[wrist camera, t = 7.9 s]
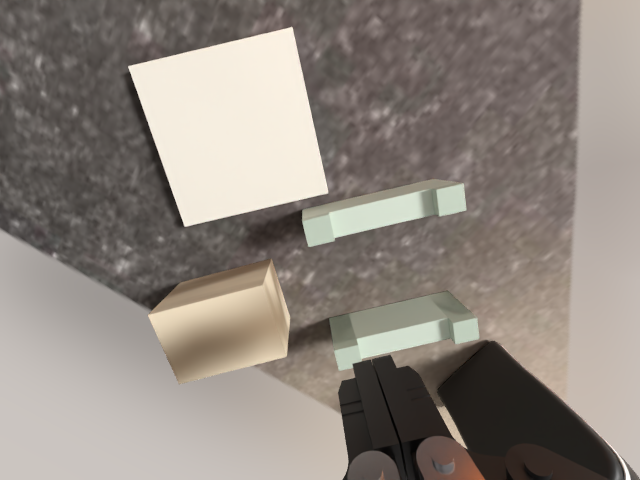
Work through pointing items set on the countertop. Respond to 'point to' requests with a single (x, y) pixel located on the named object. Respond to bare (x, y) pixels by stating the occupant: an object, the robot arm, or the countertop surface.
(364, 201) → the rails
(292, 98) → the plate
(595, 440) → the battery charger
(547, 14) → the countertop surface
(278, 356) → the block
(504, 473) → the robot arm
